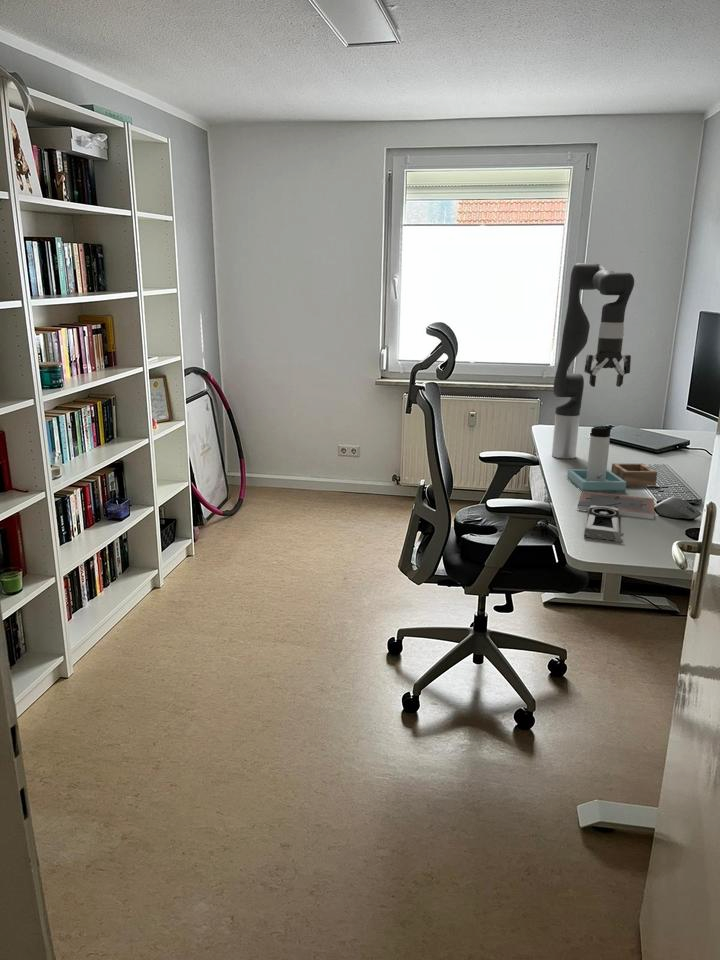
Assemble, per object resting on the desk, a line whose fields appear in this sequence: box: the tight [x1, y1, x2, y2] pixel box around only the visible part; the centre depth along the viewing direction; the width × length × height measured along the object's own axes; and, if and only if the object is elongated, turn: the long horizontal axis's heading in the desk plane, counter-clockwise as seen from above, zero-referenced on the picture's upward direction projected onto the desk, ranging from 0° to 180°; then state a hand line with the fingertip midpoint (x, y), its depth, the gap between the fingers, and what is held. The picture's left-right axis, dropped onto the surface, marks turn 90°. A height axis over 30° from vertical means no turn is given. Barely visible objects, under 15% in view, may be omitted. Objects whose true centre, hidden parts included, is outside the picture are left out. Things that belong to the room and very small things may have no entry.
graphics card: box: [583, 505, 625, 543], centre depth 194 cm, size 10×3×25 cm
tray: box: [566, 469, 627, 493], centre depth 234 cm, size 16×14×4 cm
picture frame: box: [576, 491, 655, 520], centre depth 211 cm, size 16×2×22 cm
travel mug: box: [586, 425, 613, 481], centre depth 232 cm, size 6×7×20 cm
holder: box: [610, 462, 658, 487], centre depth 239 cm, size 12×11×5 cm
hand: (605, 386), depth 226 cm, fingers open, 8 cm apart
